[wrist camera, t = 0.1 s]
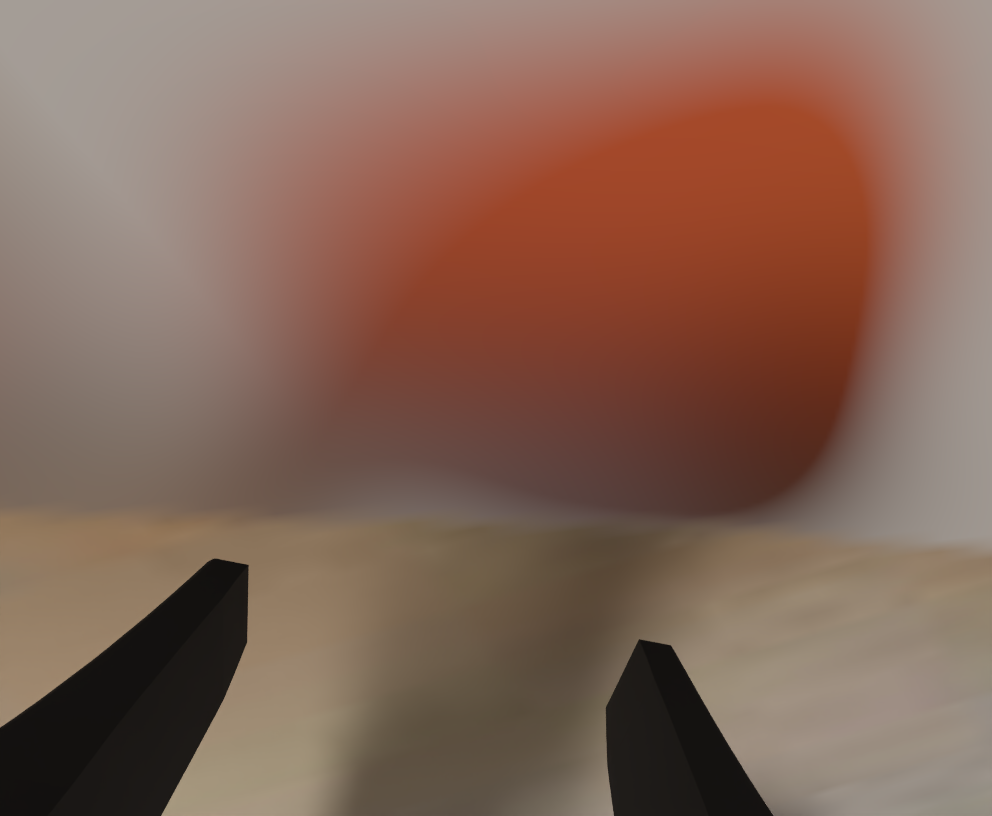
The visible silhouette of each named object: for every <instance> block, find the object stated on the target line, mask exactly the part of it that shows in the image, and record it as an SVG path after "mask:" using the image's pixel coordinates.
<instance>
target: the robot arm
mask: <svg viewBox="0 0 992 816" xmlns="http://www.w3.org/2000/svg"><path fill="white" fill-rule="evenodd" d="M247 617H248V565H246V564H241V563H235V562H230V561H225V560H220V559H212V560H210V561H209V562H207V563H206V564H205V565H204V566H203V567H202V568H201V569H200V570H198V571H197V572H196V573H195V574H194V575H193V576H192V577H191V578H190V579H189V580H187V581H186V582H185V583H184V584H183V585H182V586H181V587H180V588H178V589H177V590H176V591H175V592H174V593H173V594H172V595H171V596H169V597H168V598H167V599H166V600H165V601H164V602H163V603H161V604H160V605H159V606H158V607H157V608H156V609H154V610H153V611H152V612H151V613H150V614H149V615H147V616H146V617H145V618H144V619H143V620H141V621H140V622H139V623H138V624H137V625H135V626H134V627H133V628H132V629H130V630H129V631H128V632H127V633H126V634H124V635H123V636H122V637H121V638H120V639H118V640H117V641H116V642H115V643H113V644H112V645H111V646H110V647H109V648H107V649H106V650H105V651H104V652H102V653H101V654H100V655H99V656H97V657H96V658H95V659H93V660H92V661H91V662H90V663H88V664H87V665H86V666H84V667H83V668H82V669H80V670H79V671H78V672H76V673H75V674H74V675H72V676H71V677H70V678H68V679H67V680H66V681H64V682H63V683H62V684H60V685H59V686H58V687H56V688H55V689H54V690H52V691H51V692H50V693H48V694H47V695H46V696H45V697H43V698H42V699H40V700H39V701H38V702H36V703H35V704H33V705H32V706H31V707H29V708H28V709H26V710H25V711H24V712H22V713H21V714H19V715H18V716H17V717H15V718H14V719H12V720H11V721H9V722H8V723H6V724H5V725H3V726H2V727H1V728H0V816H161V815H162V813H163V811H164V809H165V808H166V806H167V804H168V802H169V800H170V798H171V796H172V795H173V793H174V791H175V789H176V787H177V785H178V783H179V782H180V780H181V778H182V776H183V774H184V772H185V771H186V769H187V767H188V765H189V763H190V761H191V759H192V758H193V756H194V754H195V752H196V750H197V748H198V747H199V745H200V743H201V741H202V739H203V737H204V735H205V733H206V732H207V730H208V728H209V726H210V724H211V722H212V720H213V718H214V717H215V715H216V713H217V711H218V709H219V707H220V705H221V703H222V701H223V700H224V697H225V695H226V692H227V690H228V688H229V685H230V683H231V681H232V678H233V676H234V673H235V671H236V668H237V666H238V663H239V661H240V658H241V656H242V653H243V651H244V648H245V646H246V643H247ZM606 739H607V765H608V774H609V782H610V789H611V797H612V804H613V811H614V816H773V814H772V813H771V811H770V810H769V808H768V807H767V805H766V804H765V802H764V801H763V799H762V798H761V796H760V795H759V793H758V792H757V790H756V788H755V787H754V785H753V784H752V782H751V781H750V779H749V778H748V776H747V774H746V773H745V771H744V769H743V768H742V766H741V765H740V763H739V761H738V760H737V758H736V756H735V755H734V753H733V752H732V750H731V748H730V747H729V745H728V743H727V742H726V740H725V738H724V737H723V735H722V733H721V732H720V730H719V728H718V727H717V725H716V723H715V721H714V720H713V718H712V716H711V715H710V713H709V711H708V709H707V708H706V706H705V704H704V702H703V701H702V699H701V697H700V695H699V694H698V692H697V690H696V688H695V687H694V685H693V683H692V681H691V680H690V678H689V676H688V674H687V672H686V671H685V669H684V667H683V665H682V664H681V662H680V660H679V658H678V657H677V655H676V653H675V651H674V650H673V648H672V647H671V645H666V644H661V643H655V642H650V641H645V640H640V639H639V641H638V643H637V645H636V647H635V649H634V651H633V653H632V655H631V657H630V659H629V661H628V663H627V665H626V667H625V669H624V672H623V674H622V676H621V678H620V680H619V682H618V684H617V686H616V688H615V690H614V692H613V694H612V696H611V698H610V700H609V702H608V704H607V707H606Z"/></svg>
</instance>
